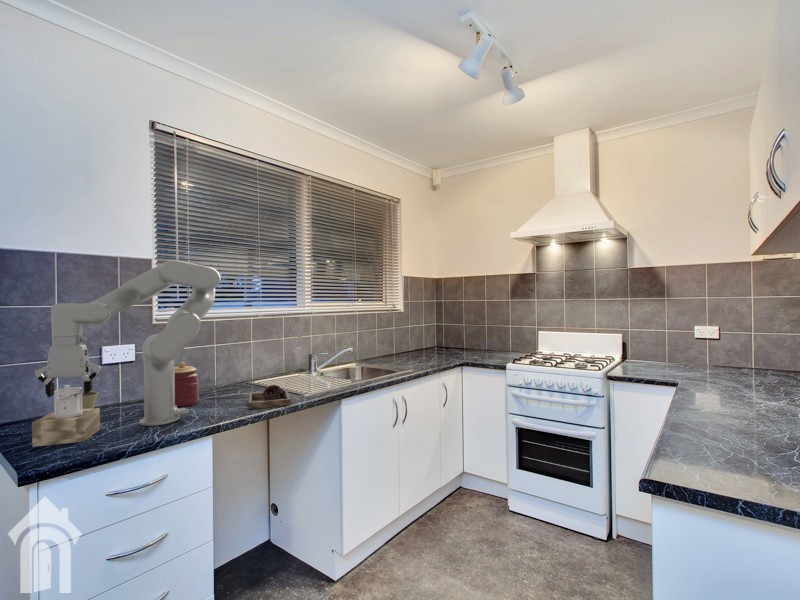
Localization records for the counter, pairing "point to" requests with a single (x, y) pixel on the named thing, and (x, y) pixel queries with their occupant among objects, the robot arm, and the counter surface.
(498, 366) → the counter surface
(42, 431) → the beech holder block
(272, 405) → the wooden tray
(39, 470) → the counter surface
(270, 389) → the dark brown rounded lump
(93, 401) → the flower pot
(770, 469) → the counter surface
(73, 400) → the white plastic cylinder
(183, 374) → the canister
